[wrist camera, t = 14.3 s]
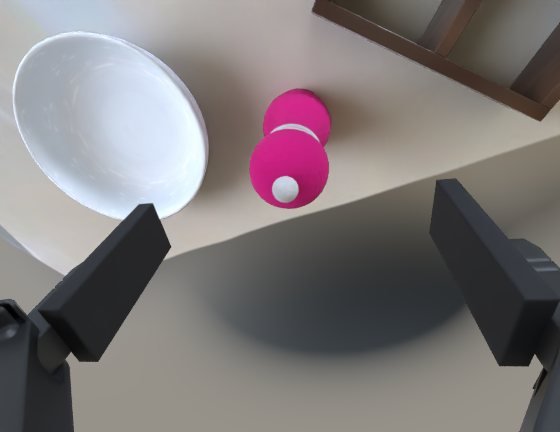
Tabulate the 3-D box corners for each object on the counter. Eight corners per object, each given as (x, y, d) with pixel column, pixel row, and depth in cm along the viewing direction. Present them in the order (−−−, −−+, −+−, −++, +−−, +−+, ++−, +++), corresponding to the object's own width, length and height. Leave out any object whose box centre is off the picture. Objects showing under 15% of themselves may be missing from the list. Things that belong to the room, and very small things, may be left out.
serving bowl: (141, 218, 47) (116, 246, 41) (24, 92, 38) (-27, 105, 33) (253, 156, 40) (242, 179, 34) (141, -15, 31) (101, -24, 26)
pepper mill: (324, 148, 38) (331, 246, 22) (267, 142, 39) (229, 234, 22) (334, 87, 35) (351, 147, 18) (270, 80, 35) (228, 134, 18)
